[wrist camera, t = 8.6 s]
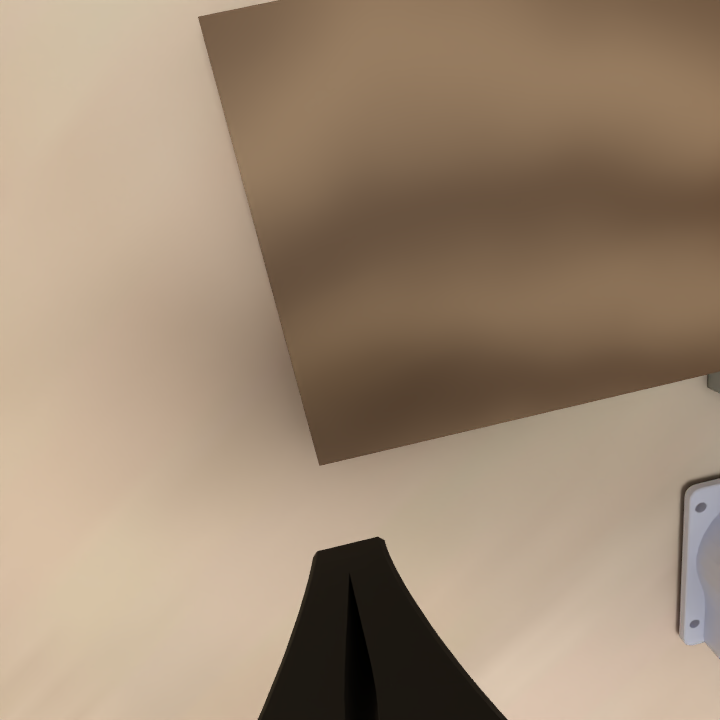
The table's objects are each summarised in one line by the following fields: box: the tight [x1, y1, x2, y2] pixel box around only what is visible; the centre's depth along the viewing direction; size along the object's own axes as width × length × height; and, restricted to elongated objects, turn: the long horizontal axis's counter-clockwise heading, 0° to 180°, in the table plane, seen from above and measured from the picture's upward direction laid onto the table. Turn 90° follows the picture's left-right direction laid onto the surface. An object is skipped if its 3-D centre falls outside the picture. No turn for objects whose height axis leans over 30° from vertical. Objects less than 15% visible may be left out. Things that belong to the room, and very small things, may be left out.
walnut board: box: [198, 0, 720, 465], centre depth 16 cm, size 14×16×2 cm
